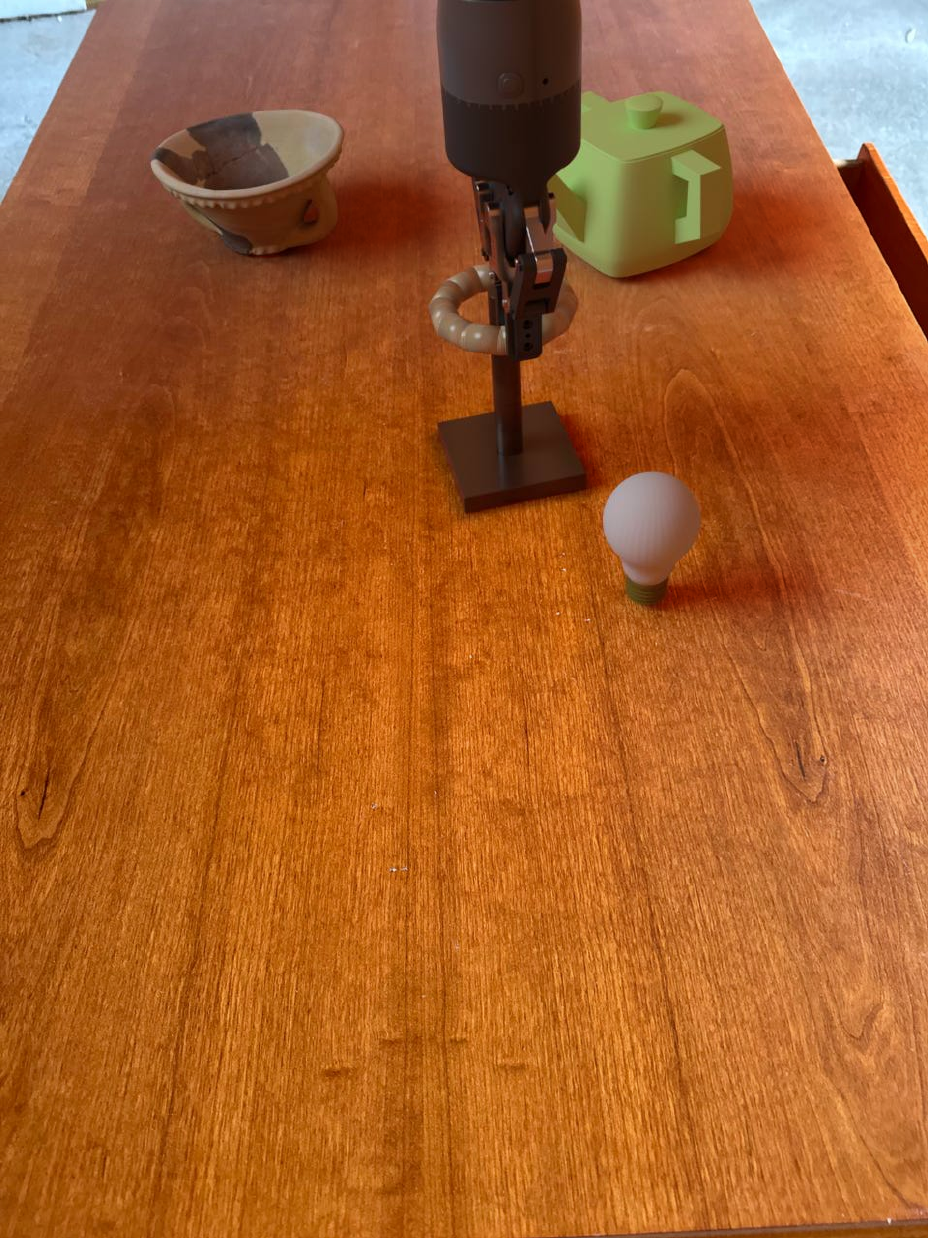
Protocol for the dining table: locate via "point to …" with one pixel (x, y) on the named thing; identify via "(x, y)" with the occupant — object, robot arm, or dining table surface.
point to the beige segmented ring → (489, 336)
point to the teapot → (643, 184)
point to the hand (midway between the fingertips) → (519, 345)
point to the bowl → (255, 177)
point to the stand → (509, 445)
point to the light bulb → (650, 530)
